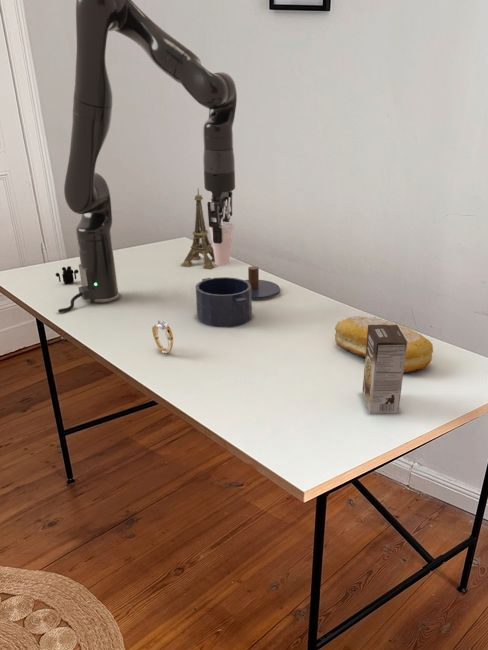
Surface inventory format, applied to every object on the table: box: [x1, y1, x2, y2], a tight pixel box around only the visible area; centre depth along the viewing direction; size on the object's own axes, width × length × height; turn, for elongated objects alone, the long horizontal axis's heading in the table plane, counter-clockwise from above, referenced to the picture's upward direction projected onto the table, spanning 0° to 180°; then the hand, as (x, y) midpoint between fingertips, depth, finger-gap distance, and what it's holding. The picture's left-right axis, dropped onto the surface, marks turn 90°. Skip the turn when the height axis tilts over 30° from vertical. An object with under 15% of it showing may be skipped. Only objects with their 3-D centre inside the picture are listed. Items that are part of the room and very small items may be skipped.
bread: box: [334, 315, 434, 373], centre depth 164 cm, size 13×26×8 cm, turn 44°
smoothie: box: [208, 220, 235, 266], centre depth 174 cm, size 6×6×14 cm
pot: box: [195, 276, 253, 328], centre depth 184 cm, size 15×20×8 cm
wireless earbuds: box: [55, 265, 80, 285], centre depth 206 cm, size 7×2×5 cm, turn 124°
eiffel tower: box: [180, 189, 215, 270], centre depth 219 cm, size 11×11×25 cm
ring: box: [151, 319, 174, 354], centre depth 164 cm, size 7×3×8 cm, turn 37°
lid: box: [244, 265, 281, 300], centre depth 201 cm, size 16×16×7 cm
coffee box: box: [361, 324, 407, 415], centre depth 142 cm, size 9×6×16 cm
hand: (221, 239), depth 175 cm, fingers closed on smoothie, 6 cm apart
